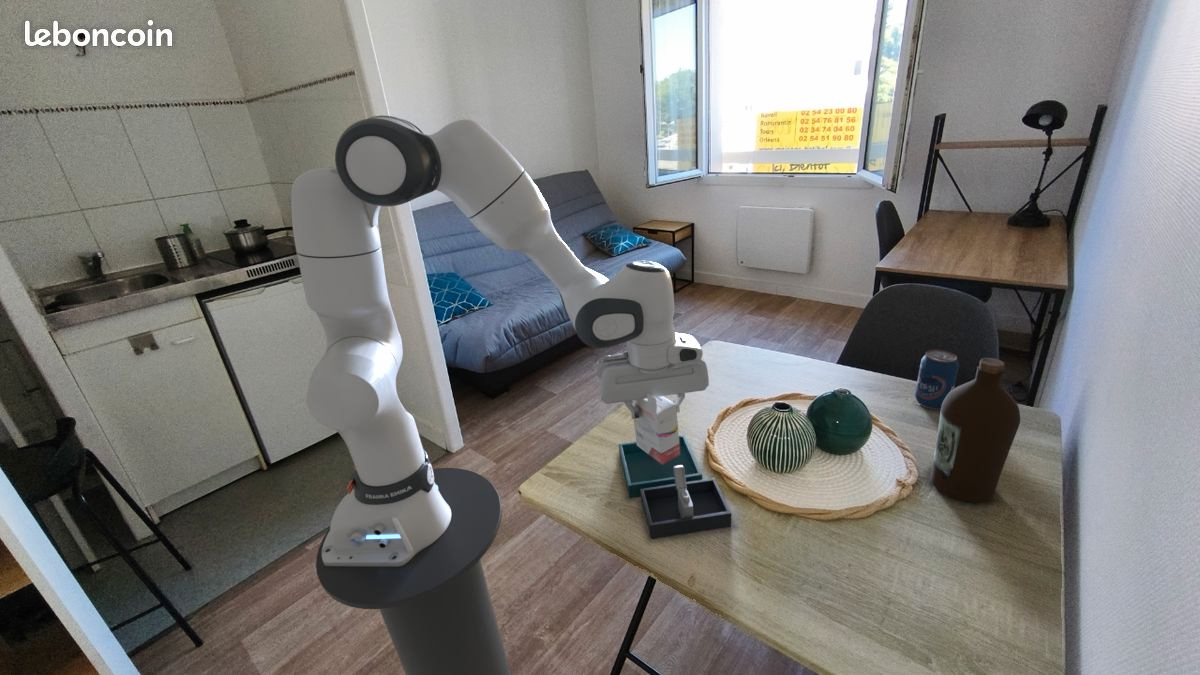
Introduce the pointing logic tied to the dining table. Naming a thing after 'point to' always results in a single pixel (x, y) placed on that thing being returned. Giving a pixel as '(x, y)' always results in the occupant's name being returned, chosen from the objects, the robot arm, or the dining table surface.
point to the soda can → (936, 378)
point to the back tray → (655, 467)
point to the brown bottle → (975, 435)
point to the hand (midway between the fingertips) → (655, 414)
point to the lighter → (682, 493)
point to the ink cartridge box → (657, 428)
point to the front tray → (665, 513)
